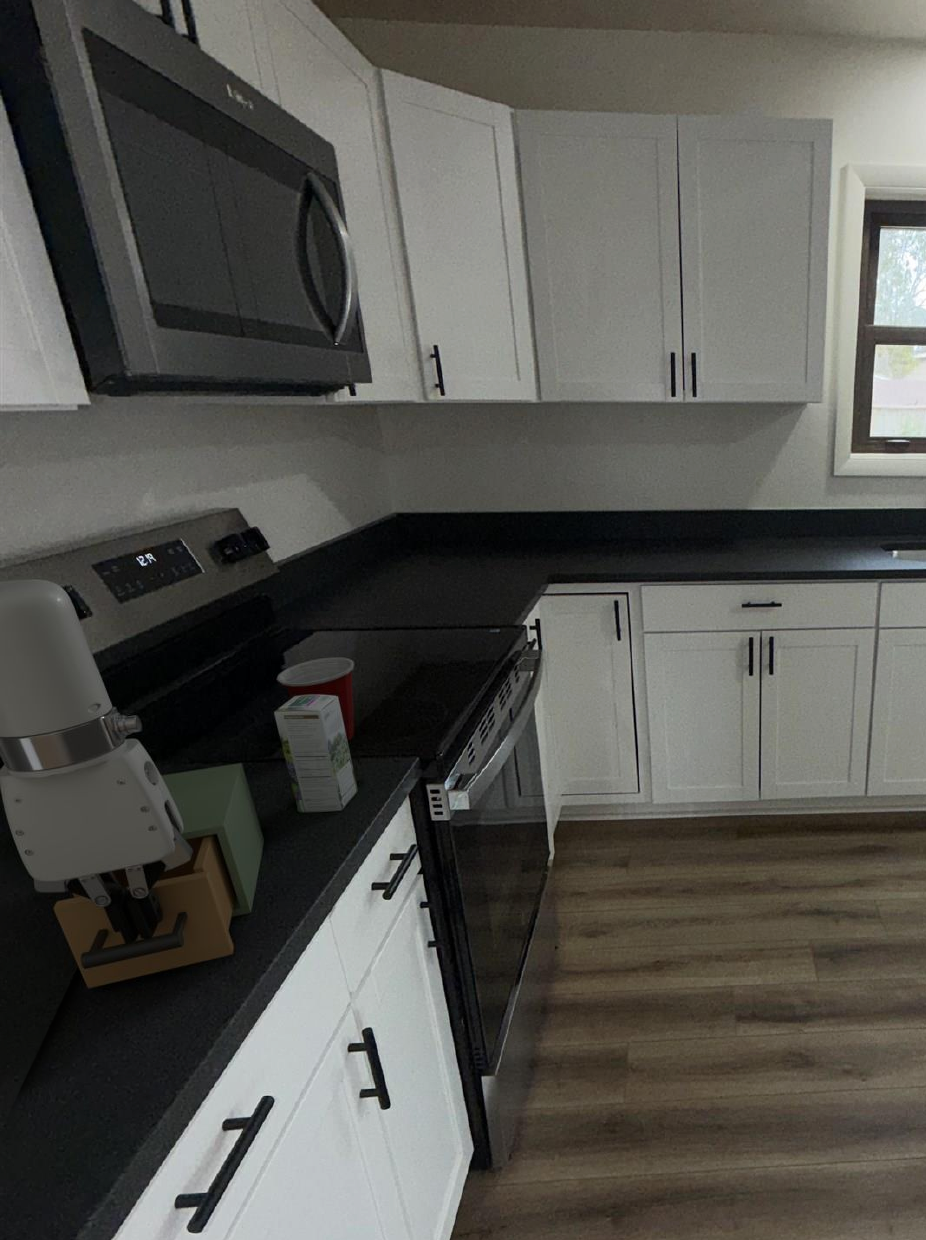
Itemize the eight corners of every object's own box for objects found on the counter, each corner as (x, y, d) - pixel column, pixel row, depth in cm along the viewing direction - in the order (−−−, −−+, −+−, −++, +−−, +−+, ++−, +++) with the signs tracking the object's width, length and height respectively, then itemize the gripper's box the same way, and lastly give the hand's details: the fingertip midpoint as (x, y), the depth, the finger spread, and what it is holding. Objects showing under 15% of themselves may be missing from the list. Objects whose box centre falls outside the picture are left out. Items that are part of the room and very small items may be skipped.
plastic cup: (280, 743, 126) (261, 670, 121) (345, 721, 134) (330, 653, 129) (317, 759, 120) (299, 683, 116) (383, 735, 129) (368, 664, 124)
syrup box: (316, 793, 110) (291, 694, 104) (360, 792, 110) (337, 693, 104) (298, 813, 105) (270, 710, 99) (344, 811, 105) (319, 708, 99)
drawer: (226, 985, 73) (198, 905, 69) (72, 1024, 68) (34, 940, 65) (249, 874, 90) (227, 805, 86) (126, 899, 85) (98, 827, 82)
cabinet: (251, 913, 84) (223, 825, 80) (106, 945, 80) (69, 853, 75) (264, 840, 98) (241, 762, 94) (141, 864, 93) (111, 783, 89)
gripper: (184, 709, 69) (246, 888, 76) (-38, 742, 63) (53, 932, 71) (165, 739, 62) (235, 932, 70) (-84, 779, 57) (21, 983, 64)
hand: (143, 931), depth 70 cm, fingers closed
